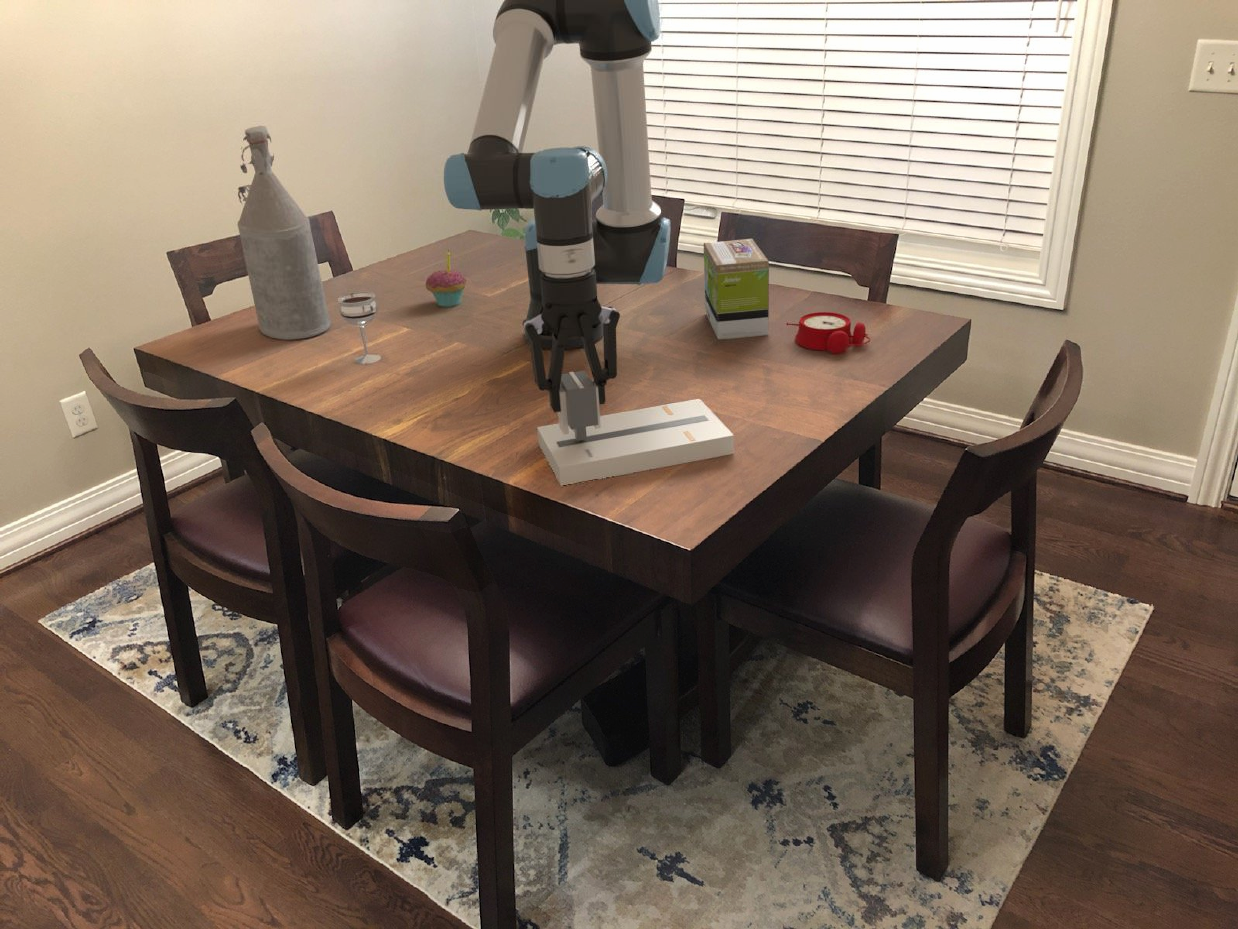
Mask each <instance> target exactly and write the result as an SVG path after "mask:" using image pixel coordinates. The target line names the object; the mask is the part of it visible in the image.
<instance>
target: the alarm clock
mask: <svg viewBox="0 0 1238 929" xmlns="http://www.w3.org/2000/svg"><path fill="white" fill-rule="evenodd" d="M785 325H786V326H788V325H789V326H796V327H798V331H797V333H796V335H795V337H794V340H795V343H796V344H797V345H798V346H800V347H803V348H805V349H809V350H815V351H824V352H826V351H828V352H829V353H831V354H833V355H839V354H842V353H844V352H846V350H847V349H848V347H858V346H859V347H860V346H863V345H866V344H869V343H870V342H871V337H869V336H868V333H866V331H867V330H866V326H865V324H864V323H863V322H856V324H855V325H854V328H853V332H851V328H852V327H851V325H852V322H851V319H850V318H849V317H848V316H846V315H844V314H842V313H837V312H831V311H830V312H828V311H820V312H819V311H818V312H811V313H807V314H804V315H803V316H801V317H800V319H799V321H798V323H789V322H786V324H785ZM852 333H853V334H852ZM865 339H868V340H867V341H865V342H864V340H865Z"/></svg>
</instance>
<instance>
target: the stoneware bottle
mask: <svg viewBox="0 0 1238 929" xmlns="http://www.w3.org/2000/svg"><path fill="white" fill-rule="evenodd" d="M244 134H245V136H244V137H243V142H244V141H246V142H247V143H248V145H246V146H245V147H244V148H243V147H240V149H241V150H242V151H241V152H242V153H241V155H240V158H241V161H243V163H242V164H239V165H240V169H241V171H242V173H243V174H247V173H248V168H247V166H246V165H247V163H244V162H245V159H244V153H245V151H246V150H247V149H249V150H250V155H251V157H250V162H248V165H252V166H253V168H254V176H253V179H252V181H251V184H246V185H243V186H239V187H238V188H237V190H238V192H237V196H238V200H239V202H240V204H241V205H243V208H242V210H241V214H240V217H239V220H238V221H237V224H236V225H237V228H238V233H239V237H240V238H239V239H240V241H241V247H242V252H243V257H244V262H245V266H246V272H247V276H248V280H249V285H250V290H251V295H252V299H253V304H254V307H255V313H256V317H257V322H258V328H259V331H260V332H261V333H262V334H263V335H265V336H267V337H268V338H272V339H276V340H286V341H291V340H292V341H293V340H301V339H307V338H313V337H315V336H318V335H321V334H322V333H324V332H327V331H329V329H330V327H331V321H330V317H329V311H328V307H327V301H326V296H325V294H324V287H323V283H322V282H323V281H322V277H321V273H320V268H319V262H318V258H317V254H316V249H315V244H314V239H313V234H312V229H311V222H310V218H309V217H308V216H307V215H306V214H305V213H304V211H303V210H302V209H301V207H300V206H299V205H298V204H297V202H296V201H295V200H294V198H293V197H292V196H291V194H290V193H289V191H287V189H286V188H285V186H284V185H283V184H282V183H281V181H280V180H279V179H278V177H277V176H276V175H275V173H274V172H273V171H272V166H273V162H274V160H275V159H274V158H275V154H274V153H273V155H271V153H270V150H269V142H272V139H271V138H272V137H271V135H270V133H269V132H268V127H267V126H266V125H265V126H264V125H258V126H252V127H249V128H247V129H245V130H244ZM268 139H269V140H268ZM246 192H247V195H245V194H246ZM242 198H243V199H242ZM241 199H242V200H241ZM243 202H244V204H243Z"/></svg>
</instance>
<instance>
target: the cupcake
mask: <svg viewBox="0 0 1238 929" xmlns="http://www.w3.org/2000/svg"><path fill="white" fill-rule="evenodd" d="M466 286H467V278H466V277H465V275H464V274H462V273H461V272H459V271H457V270H456V269H451V253H450V249H449V248H448V249H447V252H446V269H444V270H443V269H441V270H438V271H435V272H432V274H430V275H429V276H428V277H427V279H426V281H425V289H426V290H427V291H428V292H431V293H432V295H433V296H434V298H435V300H436V303H437V305H438V306H440V307H444V308H447V307H449V308H451V307H455V306H457V305H460V304H461V302H462V296H463V292H464V289H465V288H466Z"/></svg>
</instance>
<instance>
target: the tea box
mask: <svg viewBox="0 0 1238 929" xmlns="http://www.w3.org/2000/svg"><path fill="white" fill-rule="evenodd" d="M769 264H770V263H769V260H768V258H767V257H766V255H765V254H764V253H763V251H762V250H761V249H760V248H759V246H758V245H757V243H756V242H755V241H754V239H753V238H746V239H745V238H744V239H736V240H735V239H733V240H726V241H725V240H724V241H714V242H713V241H712V242H703V266H704V267H703V268H704V269H703V272H704V274H703V276H704V302H705V303H704V304H705V308H704V309H705V314H706V316H707V319H708V322H709V324H710V325H711V327H712V330H713V332H714V334H715V336H716V338H717V339H718V340H730V339H731V340H732V339H743V338H753V337H763V336H768V335H769V326H770V318H769V316H770V315H769V314H770V313H769V310H770V309H769V308H770V307H769V305H770V304H769V303H770V299H769V298H770V294H769V292H770V286H769V285H770V284H769V283H770V282H769V281H770V266H769Z"/></svg>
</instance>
